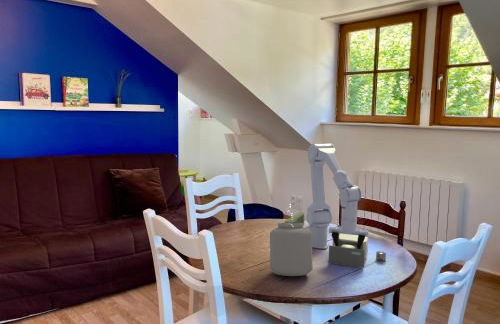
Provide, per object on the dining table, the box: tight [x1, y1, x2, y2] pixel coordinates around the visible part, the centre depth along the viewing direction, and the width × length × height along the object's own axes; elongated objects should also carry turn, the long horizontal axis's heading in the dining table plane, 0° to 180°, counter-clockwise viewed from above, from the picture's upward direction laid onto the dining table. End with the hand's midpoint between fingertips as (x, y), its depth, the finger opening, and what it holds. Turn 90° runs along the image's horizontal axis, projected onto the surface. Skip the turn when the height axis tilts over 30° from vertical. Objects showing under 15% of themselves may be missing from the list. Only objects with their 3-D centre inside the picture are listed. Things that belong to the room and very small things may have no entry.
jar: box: [269, 203, 313, 277], centre depth 146 cm, size 19×15×25 cm
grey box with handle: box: [328, 245, 365, 268], centre depth 158 cm, size 13×10×7 cm
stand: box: [375, 250, 387, 263], centre depth 161 cm, size 4×4×3 cm
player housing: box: [332, 233, 369, 261], centre depth 167 cm, size 13×10×7 cm
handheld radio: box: [284, 211, 305, 226], centre depth 200 cm, size 7×3×25 cm
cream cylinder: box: [341, 245, 355, 248], centre depth 158 cm, size 5×5×4 cm
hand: (347, 252), depth 158 cm, fingers open, 7 cm apart
